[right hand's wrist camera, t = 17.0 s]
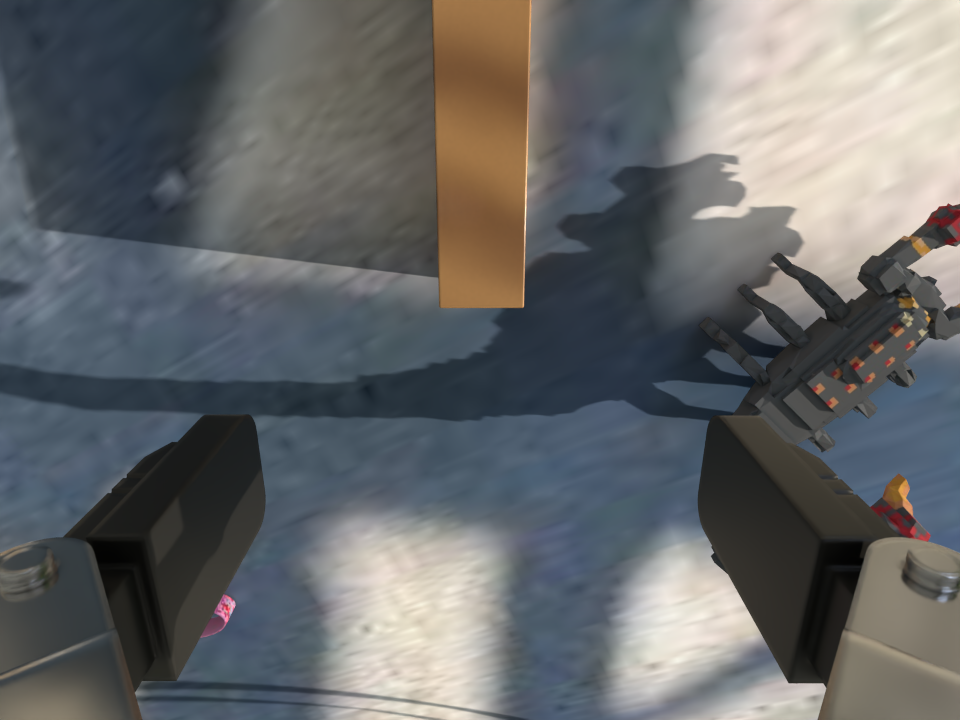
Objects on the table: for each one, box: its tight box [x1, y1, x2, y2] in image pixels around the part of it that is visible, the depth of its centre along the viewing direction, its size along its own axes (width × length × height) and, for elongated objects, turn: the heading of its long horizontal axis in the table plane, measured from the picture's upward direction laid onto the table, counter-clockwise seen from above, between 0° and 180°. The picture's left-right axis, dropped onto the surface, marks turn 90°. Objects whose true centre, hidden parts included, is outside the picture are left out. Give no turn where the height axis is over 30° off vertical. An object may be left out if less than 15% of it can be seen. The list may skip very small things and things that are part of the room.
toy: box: [699, 204, 960, 574], centre depth 36 cm, size 13×27×18 cm, turn 137°
